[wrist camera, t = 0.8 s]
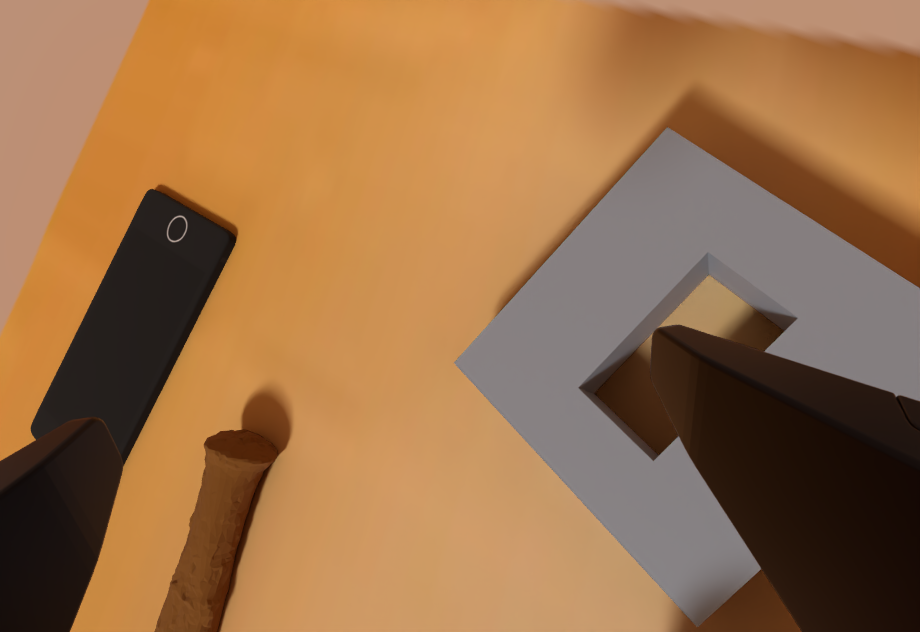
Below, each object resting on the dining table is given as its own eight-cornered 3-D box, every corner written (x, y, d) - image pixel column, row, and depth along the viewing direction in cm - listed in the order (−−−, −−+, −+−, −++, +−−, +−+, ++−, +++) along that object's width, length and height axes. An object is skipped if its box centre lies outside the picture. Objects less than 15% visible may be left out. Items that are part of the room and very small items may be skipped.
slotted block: (964, 357, 18) (1007, 343, 16) (699, 601, 20) (697, 627, 17) (672, 162, 23) (667, 126, 21) (481, 370, 25) (454, 362, 23)
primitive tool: (177, 823, 28) (108, 872, 25) (111, 759, 30) (41, 797, 27) (296, 445, 29) (246, 446, 26) (224, 413, 32) (170, 411, 28)
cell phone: (243, 238, 33) (231, 233, 33) (109, 505, 34) (94, 507, 33) (160, 191, 37) (148, 185, 37) (42, 430, 38) (26, 430, 37)
